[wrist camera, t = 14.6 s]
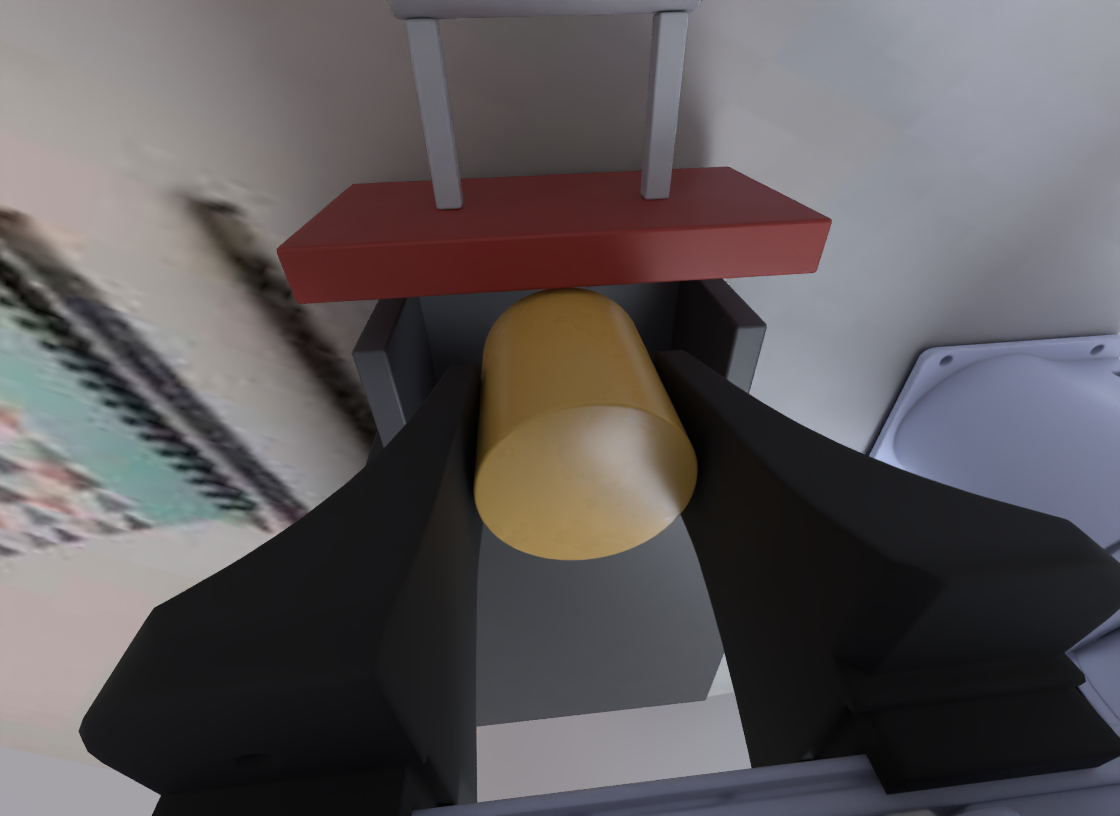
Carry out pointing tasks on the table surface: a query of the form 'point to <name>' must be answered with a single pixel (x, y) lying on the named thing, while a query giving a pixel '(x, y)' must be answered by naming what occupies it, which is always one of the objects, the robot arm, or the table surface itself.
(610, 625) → the dark grey box
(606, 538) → the yellow wooden cylinder
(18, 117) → the table surface
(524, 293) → the drawer
